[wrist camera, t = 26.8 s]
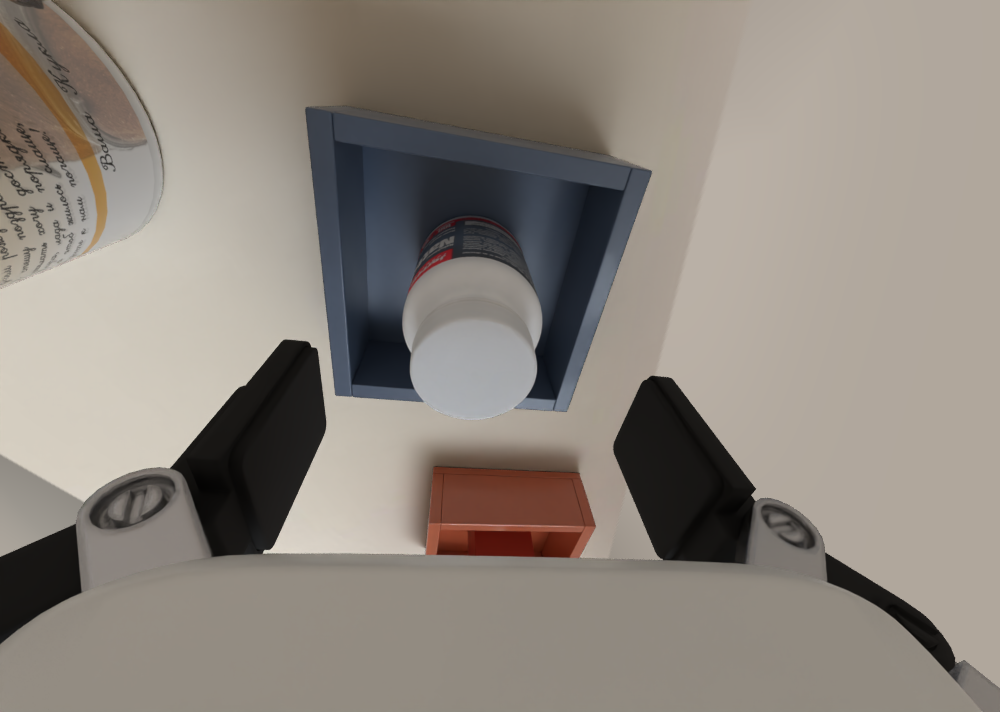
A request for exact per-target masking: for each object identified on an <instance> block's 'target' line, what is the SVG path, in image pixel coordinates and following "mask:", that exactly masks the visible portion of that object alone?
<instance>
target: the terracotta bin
mask: <svg viewBox="0 0 1000 712" xmlns="http://www.w3.org/2000/svg"><path fill="white" fill-rule="evenodd" d="M595 527H596V525H595V522H594V519H593V515H592V512H591V509H590V506H589V503H588V499H587V496H586V493H585V490H584V486H583V483H582V480H581V477H580V474H579V473H566V472H543V471H520V470H497V469H474V468H451V467H433V476H432V486H431V496H430V506H429V517H428V527H427V537H426V547H425V555H465V556H468V530H472V531H531V536H532V542H533V549H534V555H535V557H558V558H579V557H580V555H581V554H582V552H583V550H584V548H585V546H586V544H587V542H588V541H589V539H590V537H591V535H592V533H593V531H594V529H595Z"/></svg>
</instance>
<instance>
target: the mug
mask: <svg viewBox="0 0 1000 712" xmlns="http://www.w3.org/2000/svg"><path fill="white" fill-rule="evenodd" d="M162 187H163V167H162V158H161V154H160V150H159V146H158V142H157V138H156V136H155V133H154V131H153V128H152V125H151V123H150V120H149V118H148V116H147V114H146V112H145V110H144V108H143V106H142V104H141V103H140V101H139V99H138V97H137V95H136V93H135V92H134V90H133V89H132V87H131V86H130V84H129V83H128V81H127V80H126V78H125V77H124V75H123V74H122V73H121V71H120V70H119V68H118V67H117V66H116V65H115V63H114V62H113V61H112V60H111V59H110V57H109V56H108V55H107V54H106V53H105V51H104V50H103V49H102V48H101V46H100V45H99V44H98V43H97V42H96V41H95V40H94V39H93V38H92V37H91V36H90V35H89V34H88V33H87V32H86V31H85V30H84V29H83V28H82V27H81V26H80V25H79V24H78V23H77V22H76V21H75V20H74V19H73V18H71V17H70V16H69V15H68V14H67V13H66V12H64V11H63V10H62V9H61V8H60V7H58V6H57V5H56V4H55V3H54V2H53V1H51V0H0V289H2V288H5V287H7V286H10V285H12V284H14V283H17V282H19V281H22V280H24V279H27V278H29V277H32V276H34V275H37V274H39V273H42V272H44V271H47V270H49V269H52V268H54V267H57V266H59V265H62V264H64V263H67V262H69V261H72V260H74V259H77V258H79V257H82V256H84V255H87V254H89V253H92V252H94V251H97V250H99V249H102V248H104V247H107V246H109V245H112V244H114V243H117V242H119V241H122V240H124V239H127V238H128V237H130V236H132V235H134V234H135V233H137V232H139V231H140V230H141V229H142V228H143V227H144V226H145V225H146V224H147V223H148V222H149V221H150V219H151V218H152V216H153V215H154V213H155V211H156V210H157V207H158V204H159V201H160V198H161V195H162Z"/></svg>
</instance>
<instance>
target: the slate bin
mask: <svg viewBox="0 0 1000 712" xmlns="http://www.w3.org/2000/svg"><path fill="white" fill-rule="evenodd" d="M305 112H306V121H307V131H308V140H309V150H310V159H311V169H312V178H313V188H314V197H315V207H316V216H317V226H318V235H319V245H320V254H321V264H322V273H323V283H324V293H325V302H326V312H327V321H328V331H329V340H330V350H331V359H332V369H333V378H334V388H335V395H336V396H349V397H351V396H353V397H359V398H374V399H388V400H402V401H416V402H424V401H423V400H422V399H421V397H420V396H419V395H418V393H417V392H416V390H415V388H414V386H413V383H412V380H411V376H410V359H411V352H410V350H409V348H408V346H407V344H406V341H405V338H404V334H403V328H402V318H403V309H404V305H405V301H406V298H407V295H408V291H409V288H410V285H411V281H412V278H413V275H414V272H415V268H416V265H417V261H418V257H419V254H420V251H421V249H422V246H423V244H424V242H425V241H426V239H427V238H428V236H429V235H430V234H431V233H432V231H433V230H435V229H436V228H437V227H438V226H439V225H441V224H442V223H444V222H446V221H448V220H450V219H453V218H456V217H461V216H481V217H485V218H488V219H491V220H493V221H495V222H497V223H499V224H500V225H502V226H503V227H505V228H506V229H507V230H508V231H509V232H510V233H511V234H512V235H513V236H514V238H515V239H516V241H517V242H518V244H519V246H520V248H521V250H522V253H523V255H524V258H525V261H526V264H527V266H528V269H529V272H530V275H531V278H532V281H533V283H534V286H535V289H536V292H537V295H538V299H539V302H540V306H541V311H542V330H541V335H540V339H539V341H538V344H537V346H536V348H535V355H536V360H537V374H536V379H535V382H534V385H533V387H532V389H531V391H530V392H529V394H528V395H527V396H526V398H525V399H524V400H523V401H522V402H521V403H519V404H518V405H517V406H516V407H514V408H516V409H530V410H544V411H561V412H567V410H568V407H569V405H570V402H571V399H572V396H573V393H574V390H575V388H576V385H577V382H578V379H579V376H580V374H581V371H582V368H583V365H584V362H585V359H586V357H587V354H588V351H589V348H590V345H591V343H592V340H593V337H594V334H595V331H596V329H597V326H598V323H599V320H600V317H601V314H602V312H603V309H604V306H605V303H606V300H607V298H608V295H609V292H610V289H611V286H612V283H613V281H614V278H615V275H616V272H617V269H618V267H619V264H620V261H621V258H622V255H623V253H624V250H625V247H626V244H627V241H628V238H629V236H630V233H631V230H632V227H633V224H634V222H635V219H636V216H637V213H638V210H639V207H640V205H641V202H642V199H643V196H644V193H645V191H646V188H647V185H648V182H649V179H650V177H651V174H652V171H651V170H648V169H645V168H643V167H640V166H637V165H634V164H632V163H629V162H626V161H623V160H621V159H618V158H615V157H613V156H610V155H604V154H599V153H594V152H588V151H583V150H578V149H572V148H567V147H562V146H556V145H551V144H546V143H540V142H535V141H530V140H524V139H519V138H514V137H509V136H503V135H498V134H493V133H487V132H482V131H477V130H471V129H466V128H461V127H455V126H450V125H445V124H439V123H434V122H429V121H423V120H418V119H413V118H408V117H402V116H397V115H392V114H386V113H381V112H376V111H370V110H365V109H360V108H354V107H349V106H325V107H306V109H305Z"/></svg>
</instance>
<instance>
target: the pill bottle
mask: <svg viewBox="0 0 1000 712" xmlns="http://www.w3.org/2000/svg"><path fill="white" fill-rule="evenodd" d="M402 328H403V334H404V338H405V341H406V344H407V346H408V348H409V350H410V352H411V359H410V376H411V380H412V383H413V386H414V388H415V390H416V392H417V393H418V395H419V396H420V397H421V399H422V400H423V401H424V402H425V403H426V404H428V405H429V406H430V407H431V408H433V409H434V410H436V411H438V412H440V413H442V414H444V415H447V416H450V417H453V418H458V419H465V420H481V419H487V418H493V417H495V416H498V415H501V414H504V413H506V412H507V411H509V410H511V409H513V408H514V407H516V406H517V405H518V404H519V403H521V402H522V401H523V400H524V399H525V398H526V396H527V395H528V394H529V392H530V391H531V389H532V387H533V385H534V382H535V379H536V374H537V360H536V355H535V348H536V346H537V344H538V341H539V339H540V335H541V330H542V311H541V306H540V302H539V299H538V295H537V292H536V289H535V286H534V283H533V281H532V278H531V275H530V272H529V269H528V266H527V264H526V261H525V258H524V255H523V253H522V250H521V248H520V246H519V244H518V242H517V241H516V239H515V238H514V236H513V235H512V234H511V233H510V232H509V231H508V230H507V229H506V228H505V227H503V226H502V225H500V224H499V223H497V222H495V221H493V220H491V219H488V218H485V217H481V216H461V217H456V218H453V219H450V220H448V221H446V222H444V223H442V224H441V225H439V226H438V227H437V228H436V229H435V230H433V231H432V233H431V234H430V235H429V236H428V238H427V239H426V241H425V242H424V244H423V246H422V249H421V251H420V254H419V257H418V261H417V265H416V268H415V272H414V275H413V278H412V281H411V285H410V288H409V291H408V295H407V298H406V301H405V305H404V309H403V318H402Z"/></svg>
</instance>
